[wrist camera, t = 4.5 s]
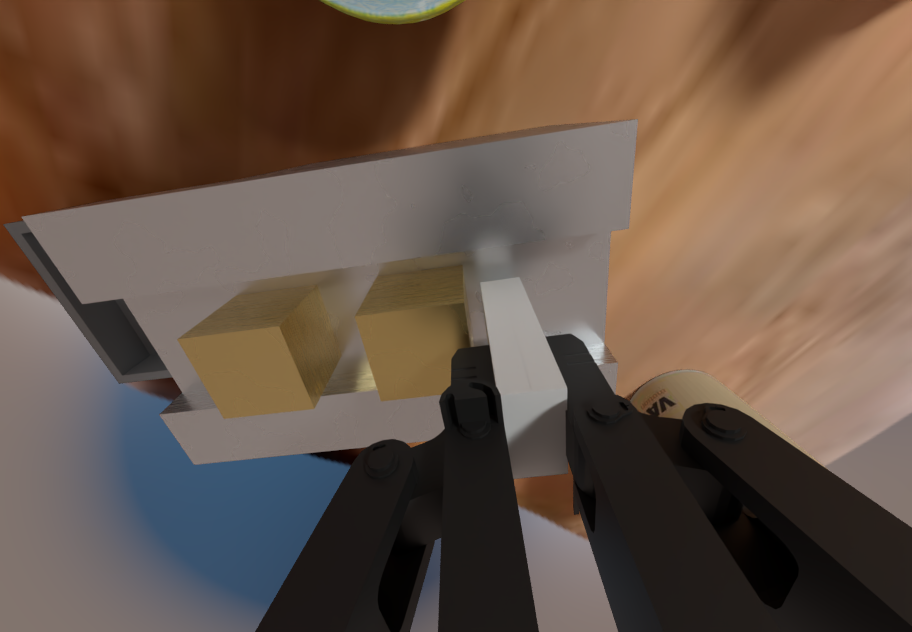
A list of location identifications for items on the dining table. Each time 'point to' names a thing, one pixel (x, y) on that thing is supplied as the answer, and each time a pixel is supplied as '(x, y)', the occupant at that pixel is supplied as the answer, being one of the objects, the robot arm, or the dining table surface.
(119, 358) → the tray
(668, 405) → the coffee cup
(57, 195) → the dining table surface
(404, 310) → the tan cube
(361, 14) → the bowl
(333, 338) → the chip
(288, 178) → the rail block
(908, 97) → the dining table surface
